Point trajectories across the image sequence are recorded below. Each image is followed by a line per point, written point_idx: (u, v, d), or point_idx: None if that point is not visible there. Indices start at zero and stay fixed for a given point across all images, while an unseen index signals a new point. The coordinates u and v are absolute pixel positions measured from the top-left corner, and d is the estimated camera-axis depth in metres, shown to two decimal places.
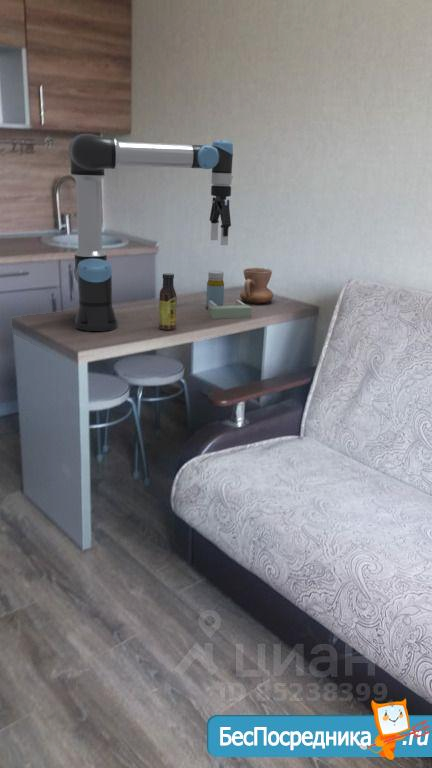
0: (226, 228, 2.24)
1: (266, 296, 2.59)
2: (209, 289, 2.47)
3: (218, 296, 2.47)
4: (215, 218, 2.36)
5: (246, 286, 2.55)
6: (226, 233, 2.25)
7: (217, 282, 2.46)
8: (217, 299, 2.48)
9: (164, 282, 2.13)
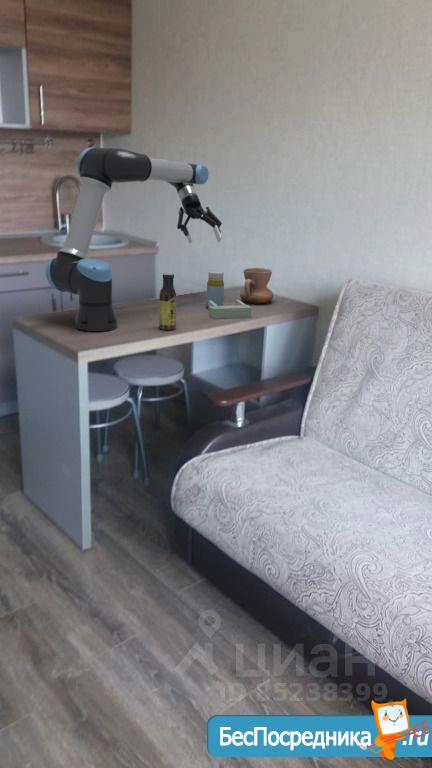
0: None
1: (266, 296, 2.59)
2: (209, 289, 2.47)
3: (218, 296, 2.47)
4: None
5: (246, 286, 2.55)
6: None
7: (217, 282, 2.46)
8: (217, 299, 2.48)
9: (164, 282, 2.13)
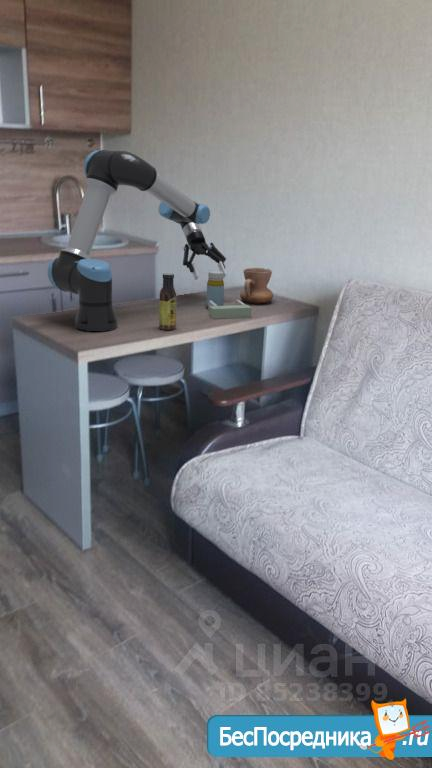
0: None
1: (266, 296, 2.59)
2: (209, 289, 2.47)
3: (218, 296, 2.47)
4: (192, 260, 2.52)
5: (246, 286, 2.55)
6: None
7: (217, 282, 2.46)
8: (217, 299, 2.48)
9: (164, 282, 2.13)
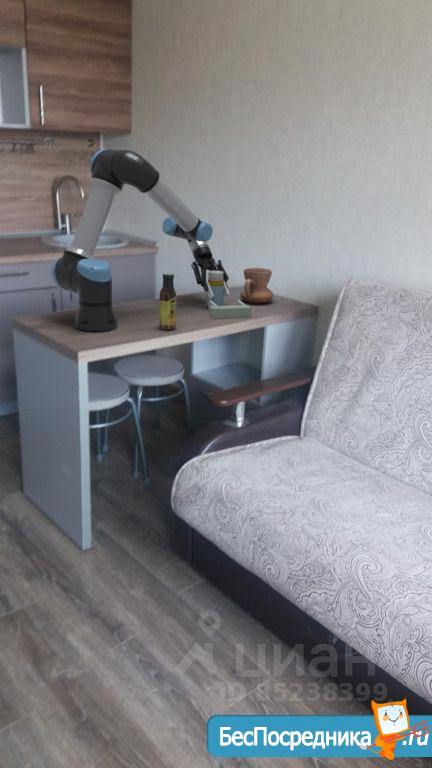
0: None
1: (266, 296, 2.59)
2: None
3: (218, 296, 2.47)
4: None
5: (246, 286, 2.55)
6: None
7: (217, 282, 2.45)
8: (217, 299, 2.48)
9: (164, 282, 2.13)
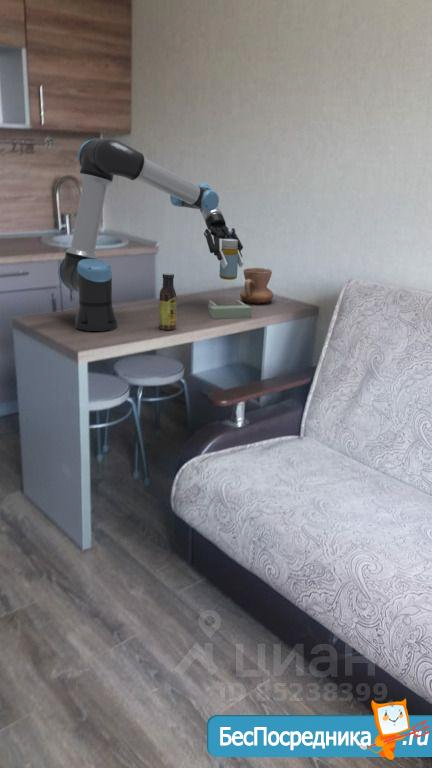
0: None
1: (266, 296, 2.59)
2: None
3: (233, 265, 2.35)
4: None
5: (246, 286, 2.55)
6: None
7: (231, 250, 2.33)
8: (231, 268, 2.36)
9: (164, 282, 2.13)
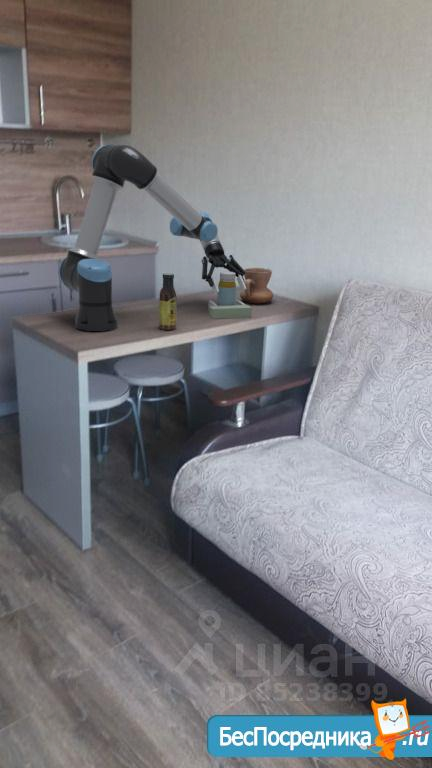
0: None
1: (266, 296, 2.59)
2: (221, 290, 2.39)
3: (230, 297, 2.40)
4: (211, 274, 2.40)
5: (246, 286, 2.55)
6: None
7: (229, 283, 2.38)
8: (228, 301, 2.40)
9: (164, 282, 2.13)
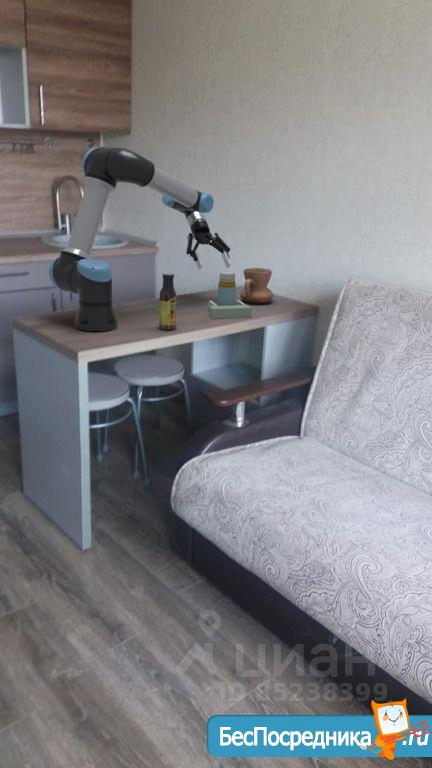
0: None
1: (266, 296, 2.59)
2: (220, 290, 2.39)
3: (230, 297, 2.40)
4: None
5: (246, 286, 2.55)
6: None
7: (229, 283, 2.38)
8: (228, 301, 2.40)
9: (164, 282, 2.13)
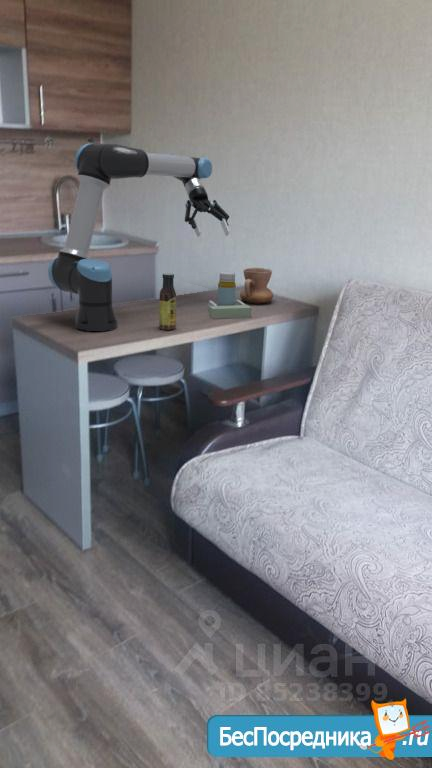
0: None
1: (266, 296, 2.59)
2: (220, 290, 2.39)
3: (230, 297, 2.40)
4: (194, 217, 2.45)
5: (246, 286, 2.55)
6: None
7: (229, 283, 2.38)
8: (228, 301, 2.40)
9: (164, 282, 2.13)
